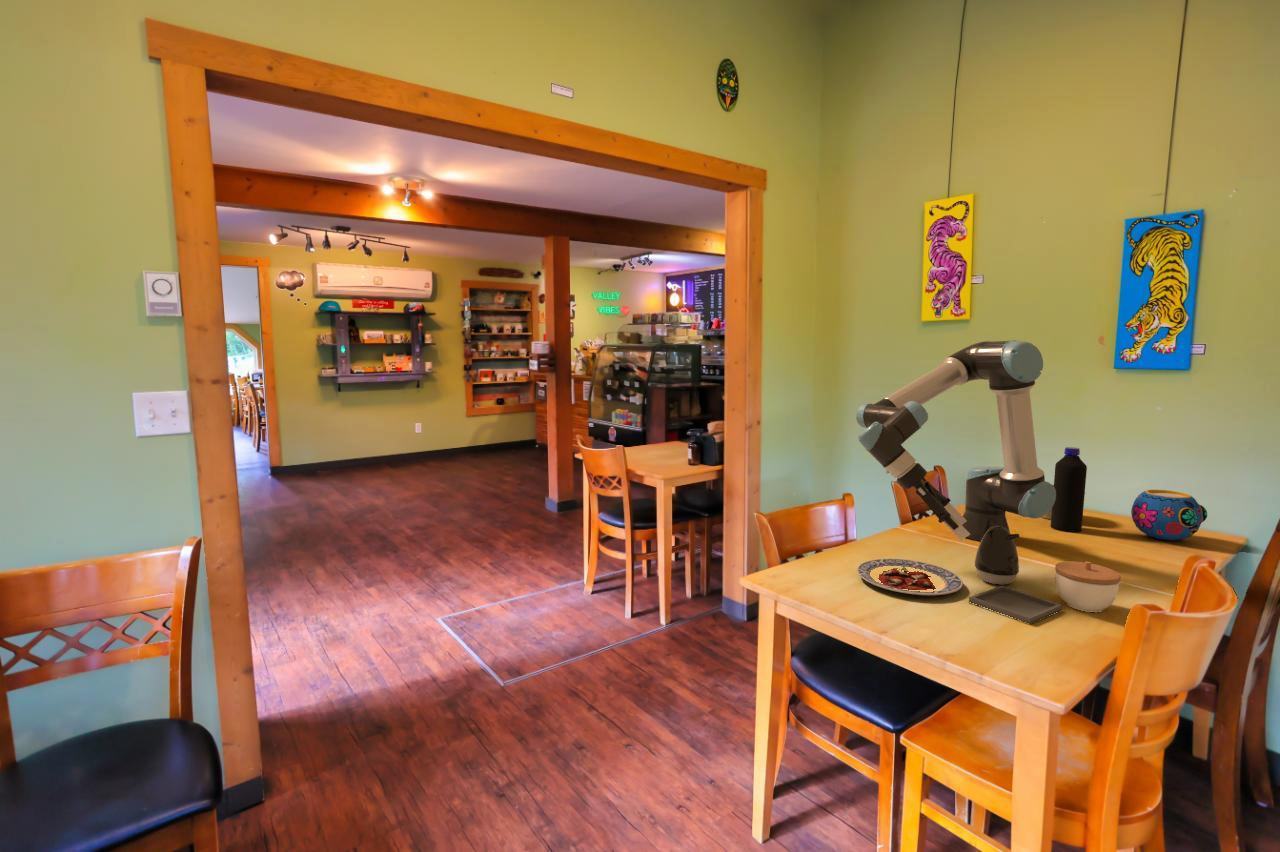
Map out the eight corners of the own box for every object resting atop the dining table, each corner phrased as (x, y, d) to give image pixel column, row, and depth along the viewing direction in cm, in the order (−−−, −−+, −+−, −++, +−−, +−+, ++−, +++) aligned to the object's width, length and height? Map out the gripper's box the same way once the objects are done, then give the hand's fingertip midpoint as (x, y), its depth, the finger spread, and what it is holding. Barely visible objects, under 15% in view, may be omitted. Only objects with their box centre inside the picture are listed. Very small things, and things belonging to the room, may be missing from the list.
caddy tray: (968, 602, 151) (969, 597, 150) (1001, 591, 158) (1001, 585, 158) (1029, 624, 139) (1029, 618, 138) (1061, 611, 146) (1062, 604, 146)
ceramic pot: (1186, 550, 189) (1192, 502, 187) (1118, 535, 204) (1123, 491, 202) (1209, 541, 198) (1214, 495, 196) (1142, 527, 213) (1147, 485, 211)
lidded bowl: (1130, 614, 144) (1135, 568, 143) (1090, 620, 140) (1094, 574, 139) (1078, 593, 156) (1082, 551, 155) (1040, 599, 152) (1043, 556, 151)
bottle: (1054, 530, 210) (1060, 449, 206) (1047, 524, 218) (1053, 445, 214) (1085, 533, 206) (1092, 450, 203) (1077, 526, 215) (1083, 446, 211)
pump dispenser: (1003, 591, 157) (1007, 534, 156) (965, 578, 167) (968, 523, 165) (1027, 584, 162) (1031, 528, 160) (989, 572, 171) (992, 518, 169)
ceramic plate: (969, 608, 148) (970, 596, 148) (855, 594, 157) (856, 583, 156) (955, 572, 172) (956, 562, 172) (857, 561, 181) (857, 551, 180)
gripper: (897, 471, 182) (950, 526, 178) (893, 488, 160) (954, 552, 156) (917, 454, 180) (972, 510, 175) (916, 469, 157) (980, 534, 153)
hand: (964, 530), depth 165 cm, fingers open, 13 cm apart
